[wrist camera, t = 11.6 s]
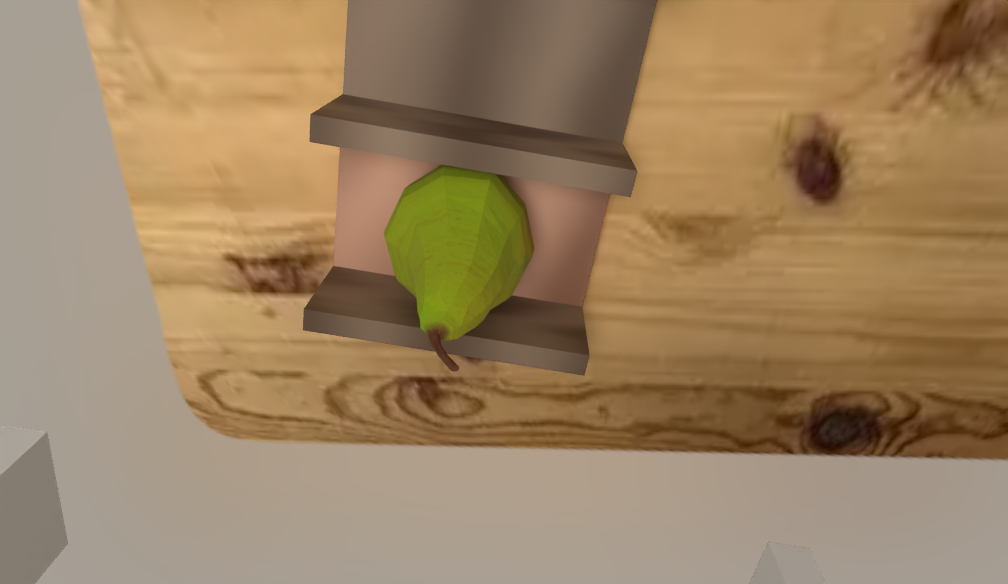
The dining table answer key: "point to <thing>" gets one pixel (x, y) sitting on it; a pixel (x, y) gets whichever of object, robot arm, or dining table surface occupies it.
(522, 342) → the rack
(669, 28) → the dining table surface
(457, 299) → the fruit
